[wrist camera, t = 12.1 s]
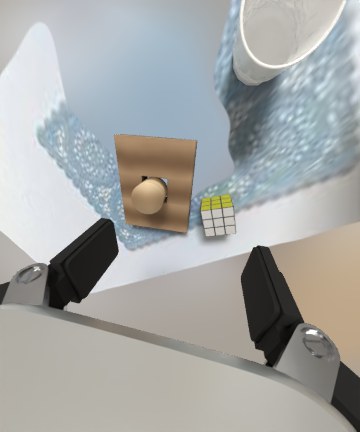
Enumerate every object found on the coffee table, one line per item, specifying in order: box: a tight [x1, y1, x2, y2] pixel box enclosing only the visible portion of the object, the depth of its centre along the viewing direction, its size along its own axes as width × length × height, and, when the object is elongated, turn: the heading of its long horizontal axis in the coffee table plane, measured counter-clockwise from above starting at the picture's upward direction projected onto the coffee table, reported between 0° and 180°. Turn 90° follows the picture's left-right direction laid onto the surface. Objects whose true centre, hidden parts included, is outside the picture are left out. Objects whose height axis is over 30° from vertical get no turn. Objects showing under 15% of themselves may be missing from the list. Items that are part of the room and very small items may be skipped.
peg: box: [131, 177, 167, 214], centre depth 28 cm, size 5×5×9 cm
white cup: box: [233, 0, 347, 86], centre depth 17 cm, size 8×8×10 cm
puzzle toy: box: [200, 194, 236, 236], centre depth 31 cm, size 6×6×6 cm
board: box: [114, 134, 197, 233], centre depth 31 cm, size 18×14×3 cm
